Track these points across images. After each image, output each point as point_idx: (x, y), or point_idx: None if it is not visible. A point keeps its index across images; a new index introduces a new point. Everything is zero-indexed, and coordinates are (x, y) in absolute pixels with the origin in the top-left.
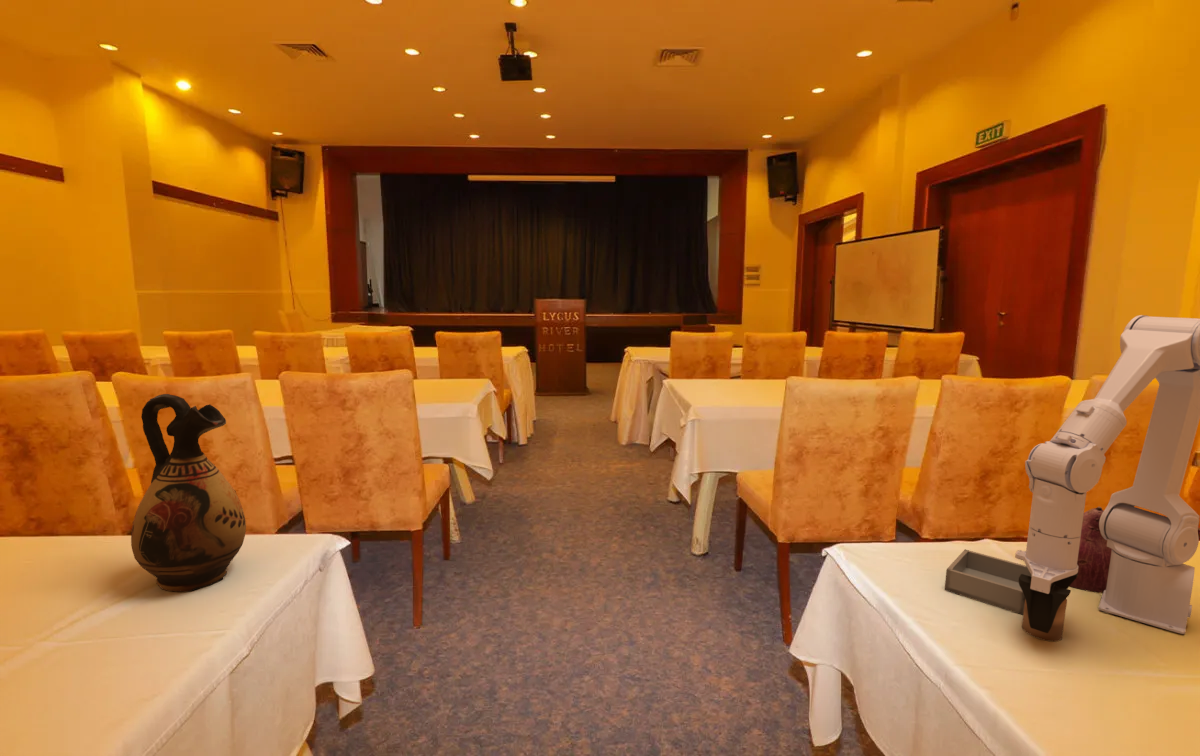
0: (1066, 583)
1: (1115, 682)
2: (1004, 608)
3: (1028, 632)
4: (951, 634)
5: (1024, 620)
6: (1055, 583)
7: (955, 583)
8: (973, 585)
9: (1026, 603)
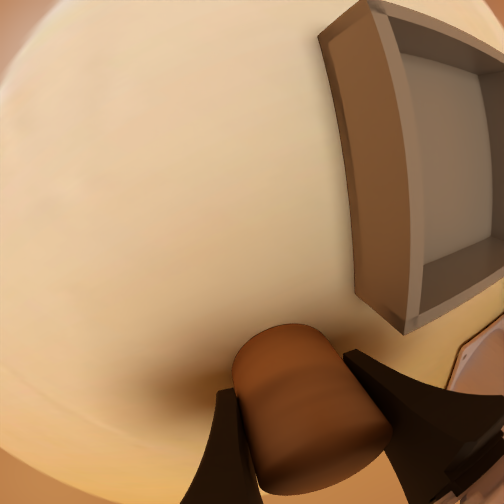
0: (404, 482)
1: (193, 474)
2: (354, 238)
3: (236, 360)
4: (7, 229)
5: (255, 362)
6: (407, 462)
7: (347, 54)
8: (372, 121)
9: (202, 461)
